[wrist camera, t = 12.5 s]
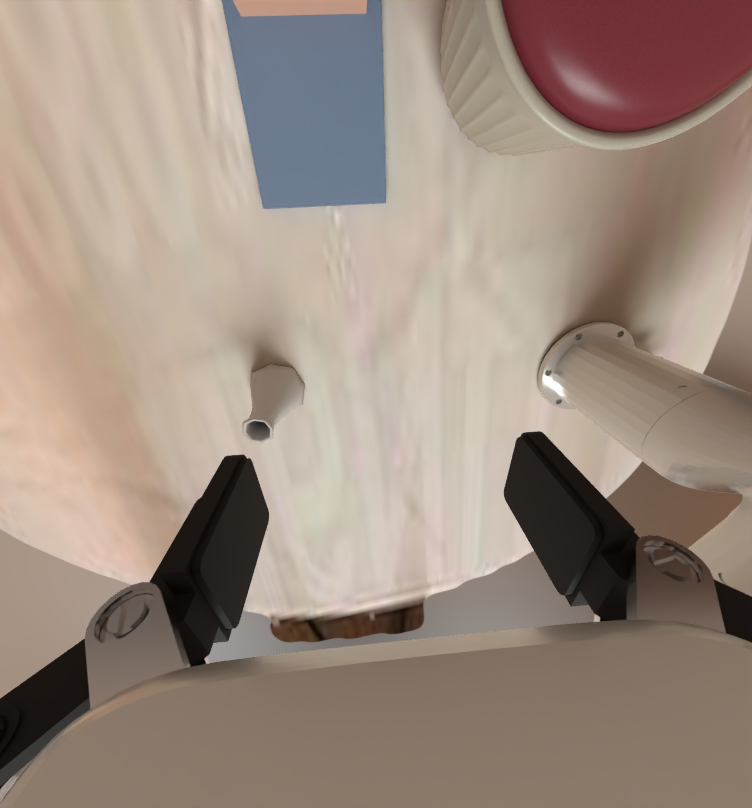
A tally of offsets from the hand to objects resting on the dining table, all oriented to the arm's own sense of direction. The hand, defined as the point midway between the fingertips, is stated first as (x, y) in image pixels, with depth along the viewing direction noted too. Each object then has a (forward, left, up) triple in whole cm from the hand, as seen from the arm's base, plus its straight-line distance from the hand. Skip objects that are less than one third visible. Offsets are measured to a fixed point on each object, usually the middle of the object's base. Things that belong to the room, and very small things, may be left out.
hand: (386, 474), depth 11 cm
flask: (+12, +10, -28) cm, 33 cm away
